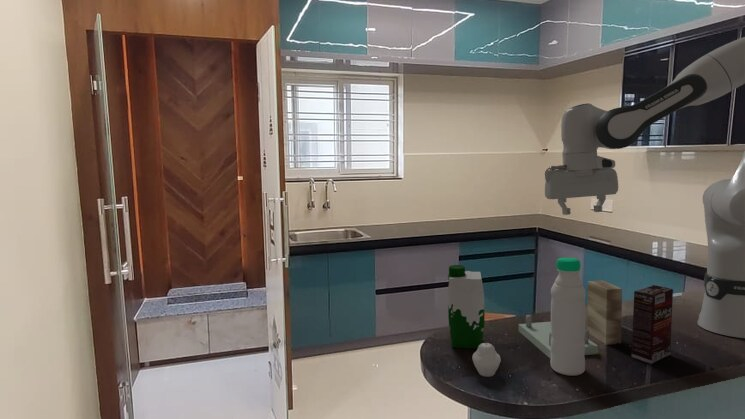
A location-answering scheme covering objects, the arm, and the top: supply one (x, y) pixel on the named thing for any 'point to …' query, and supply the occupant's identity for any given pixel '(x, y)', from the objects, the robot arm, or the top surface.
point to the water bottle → (568, 319)
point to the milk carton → (465, 307)
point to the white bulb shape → (486, 359)
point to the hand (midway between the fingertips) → (582, 213)
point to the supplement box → (652, 323)
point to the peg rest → (549, 336)
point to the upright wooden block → (604, 311)
